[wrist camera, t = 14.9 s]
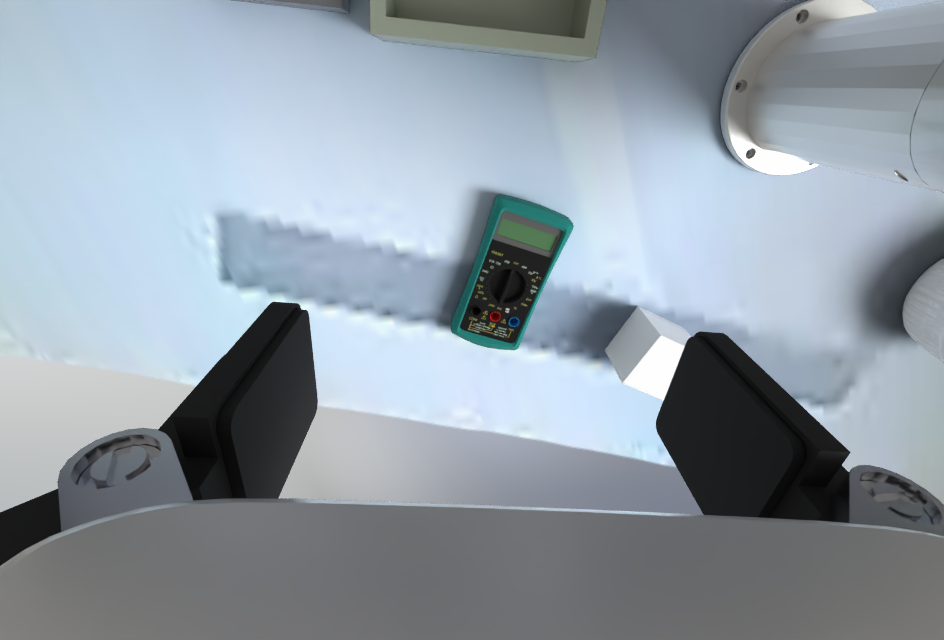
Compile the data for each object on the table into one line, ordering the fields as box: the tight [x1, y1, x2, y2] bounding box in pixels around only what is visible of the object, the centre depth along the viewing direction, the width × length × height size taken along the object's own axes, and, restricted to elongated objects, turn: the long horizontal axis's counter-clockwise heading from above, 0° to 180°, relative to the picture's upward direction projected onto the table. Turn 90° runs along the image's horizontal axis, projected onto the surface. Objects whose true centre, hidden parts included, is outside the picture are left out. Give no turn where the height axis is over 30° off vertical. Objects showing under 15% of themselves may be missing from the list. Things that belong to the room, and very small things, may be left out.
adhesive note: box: [605, 306, 691, 400], centre depth 44 cm, size 6×6×6 cm
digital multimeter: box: [451, 194, 573, 350], centre depth 41 cm, size 7×15×3 cm, turn 161°
